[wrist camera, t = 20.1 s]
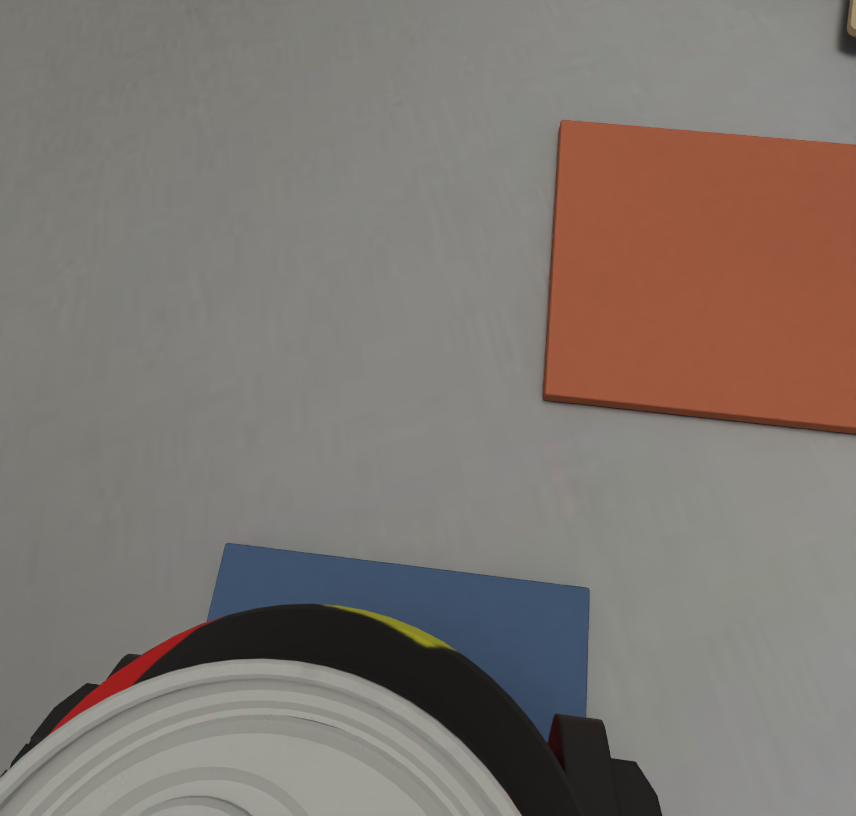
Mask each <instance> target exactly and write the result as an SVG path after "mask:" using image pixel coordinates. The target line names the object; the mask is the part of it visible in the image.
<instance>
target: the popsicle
mask: <svg viewBox="0 0 856 816" xmlns="http://www.w3.org/2000/svg"><path fill="white" fill-rule="evenodd" d="M847 32H848V33H849V34H850V35H852V36H854V37H856V0H850V6H849V14H848V22H847Z"/></svg>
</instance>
